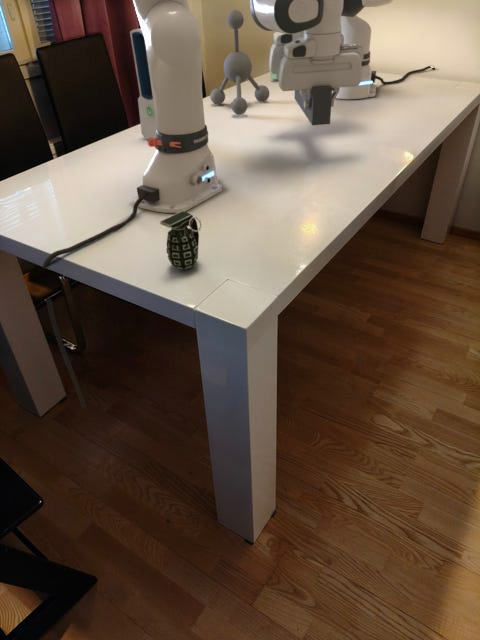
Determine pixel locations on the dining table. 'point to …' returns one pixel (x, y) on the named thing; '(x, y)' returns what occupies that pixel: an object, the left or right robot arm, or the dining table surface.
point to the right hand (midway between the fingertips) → (304, 88)
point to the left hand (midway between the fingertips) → (318, 107)
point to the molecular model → (238, 71)
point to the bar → (317, 104)
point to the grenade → (182, 240)
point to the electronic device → (144, 85)
